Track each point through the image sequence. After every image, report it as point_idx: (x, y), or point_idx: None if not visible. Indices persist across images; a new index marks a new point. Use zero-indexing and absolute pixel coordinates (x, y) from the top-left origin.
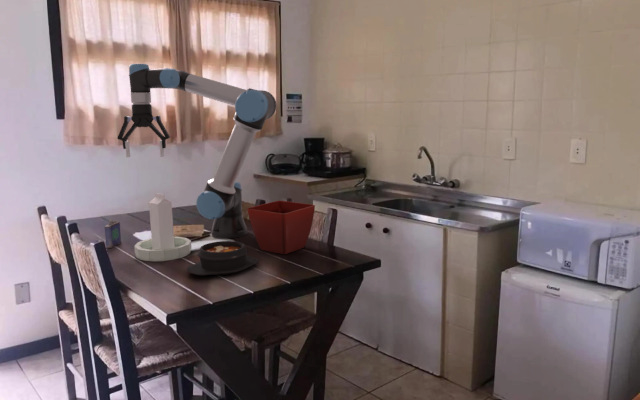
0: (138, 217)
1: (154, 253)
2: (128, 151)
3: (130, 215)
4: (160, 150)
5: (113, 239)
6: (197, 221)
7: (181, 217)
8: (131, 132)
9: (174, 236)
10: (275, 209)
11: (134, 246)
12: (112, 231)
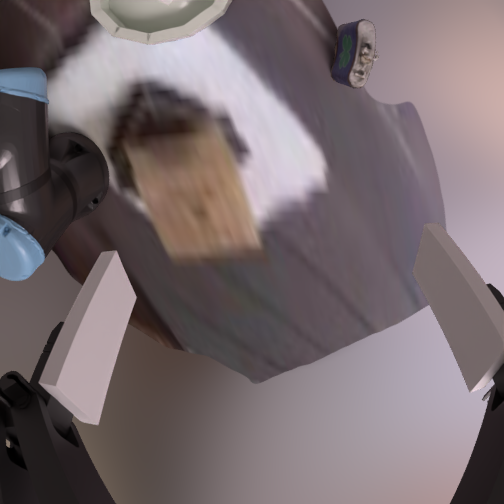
0: (350, 312)
1: None
2: (443, 275)
3: (369, 324)
4: (92, 292)
5: (343, 41)
6: (198, 283)
7: (252, 314)
8: (482, 482)
9: (150, 43)
10: None
11: None
12: (350, 38)
